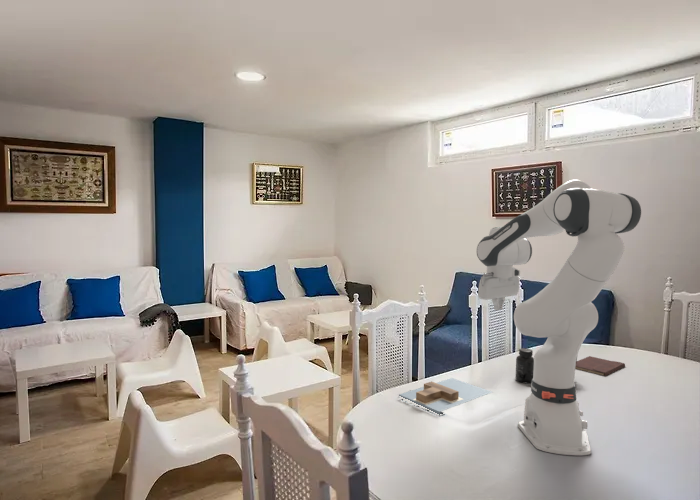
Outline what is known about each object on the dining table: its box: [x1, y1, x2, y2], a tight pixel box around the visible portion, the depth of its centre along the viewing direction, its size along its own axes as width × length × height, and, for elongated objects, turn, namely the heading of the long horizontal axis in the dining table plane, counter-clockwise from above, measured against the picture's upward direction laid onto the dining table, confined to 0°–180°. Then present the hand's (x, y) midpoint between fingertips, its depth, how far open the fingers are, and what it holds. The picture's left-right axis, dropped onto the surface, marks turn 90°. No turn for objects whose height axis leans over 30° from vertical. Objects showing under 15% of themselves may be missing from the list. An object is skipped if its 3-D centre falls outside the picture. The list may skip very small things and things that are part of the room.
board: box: [398, 377, 493, 415], centre depth 161 cm, size 28×18×2 cm, turn 128°
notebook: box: [575, 355, 626, 377], centre depth 197 cm, size 15×20×2 cm
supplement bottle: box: [515, 347, 534, 384], centre depth 179 cm, size 7×7×12 cm
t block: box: [416, 381, 459, 403], centre depth 157 cm, size 12×12×2 cm
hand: (498, 309), depth 169 cm, fingers closed
